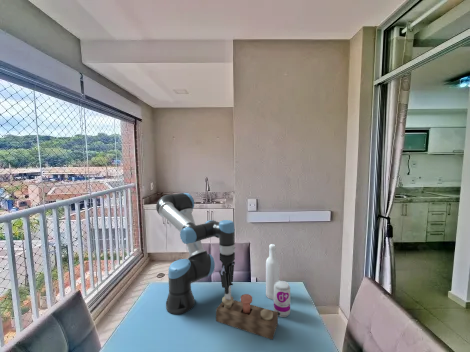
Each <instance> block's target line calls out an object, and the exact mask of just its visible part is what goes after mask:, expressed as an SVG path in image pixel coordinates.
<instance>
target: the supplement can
mask: <svg viewBox="0 0 470 352" xmlns="http://www.w3.org/2000/svg"><path fill="white" fill-rule="evenodd" d="M273 311H276V312H278V317H280V318H286V317H288V316H289V315H291V286H290V283H289V282H287V281H285V280H279V281H276V282H275V284H274V300H273Z"/></svg>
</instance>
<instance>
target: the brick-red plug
mask: <svg viewBox="0 0 470 352" xmlns="http://www.w3.org/2000/svg"><path fill="white" fill-rule="evenodd" d="M240 302H241V303H243V313H244V314H249V313H250V305H251V303H253V296H252V295H251V294H249V293H244V294H242V295H240Z"/></svg>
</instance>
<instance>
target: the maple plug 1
mask: <svg viewBox="0 0 470 352" xmlns="http://www.w3.org/2000/svg"><path fill="white" fill-rule="evenodd" d="M233 300H234V296H232V295H231V299H230V300H227V299H225V295H224V296H223V297H222V299H221V301H222V303H223V304H224V308H227V309H231V307H232V304H233Z"/></svg>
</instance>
